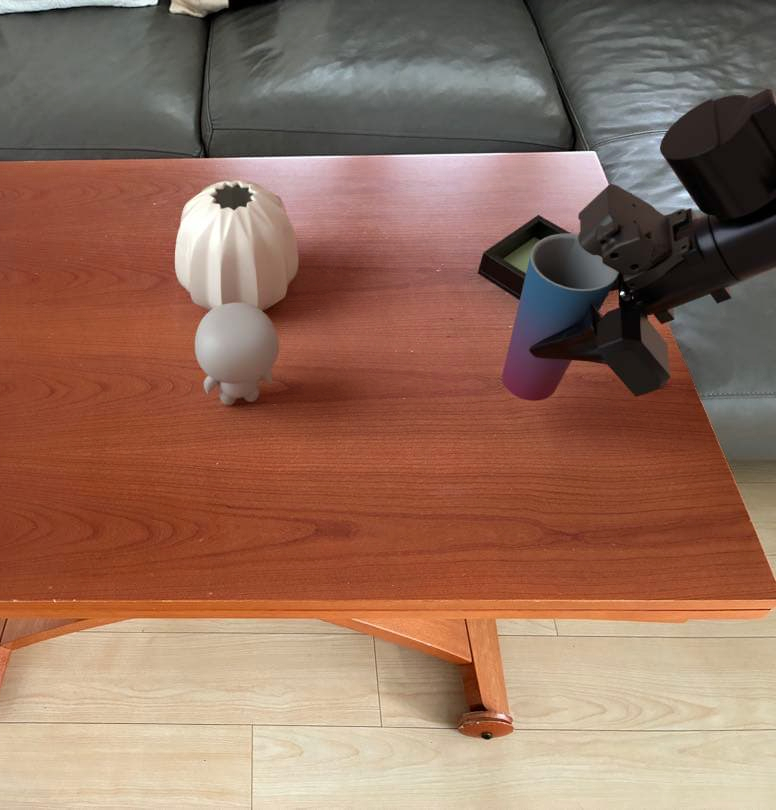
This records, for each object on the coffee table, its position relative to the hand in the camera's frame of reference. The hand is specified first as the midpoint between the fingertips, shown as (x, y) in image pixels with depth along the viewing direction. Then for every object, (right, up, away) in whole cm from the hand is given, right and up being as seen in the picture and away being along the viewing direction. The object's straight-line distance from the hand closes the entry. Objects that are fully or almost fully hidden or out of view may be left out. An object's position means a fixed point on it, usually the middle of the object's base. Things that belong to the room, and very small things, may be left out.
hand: (533, 326), depth 68 cm
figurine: (-26, -7, +13) cm, 30 cm away
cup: (+2, -5, +5) cm, 7 cm away
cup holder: (+9, +8, +23) cm, 26 cm away
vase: (-26, +7, +23) cm, 36 cm away
